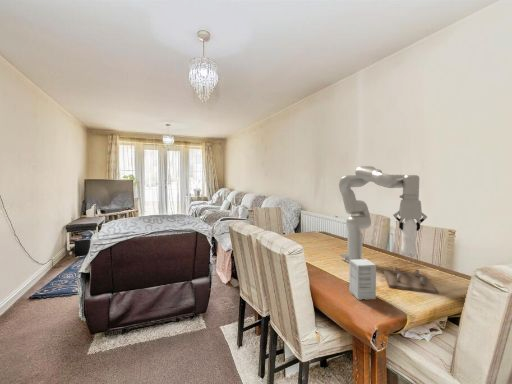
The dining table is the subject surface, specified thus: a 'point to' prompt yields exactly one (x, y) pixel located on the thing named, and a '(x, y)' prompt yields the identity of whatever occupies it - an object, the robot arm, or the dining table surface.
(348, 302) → the dining table surface
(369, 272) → the supplement box
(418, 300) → the dining table surface
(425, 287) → the peg stand
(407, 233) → the water bottle
